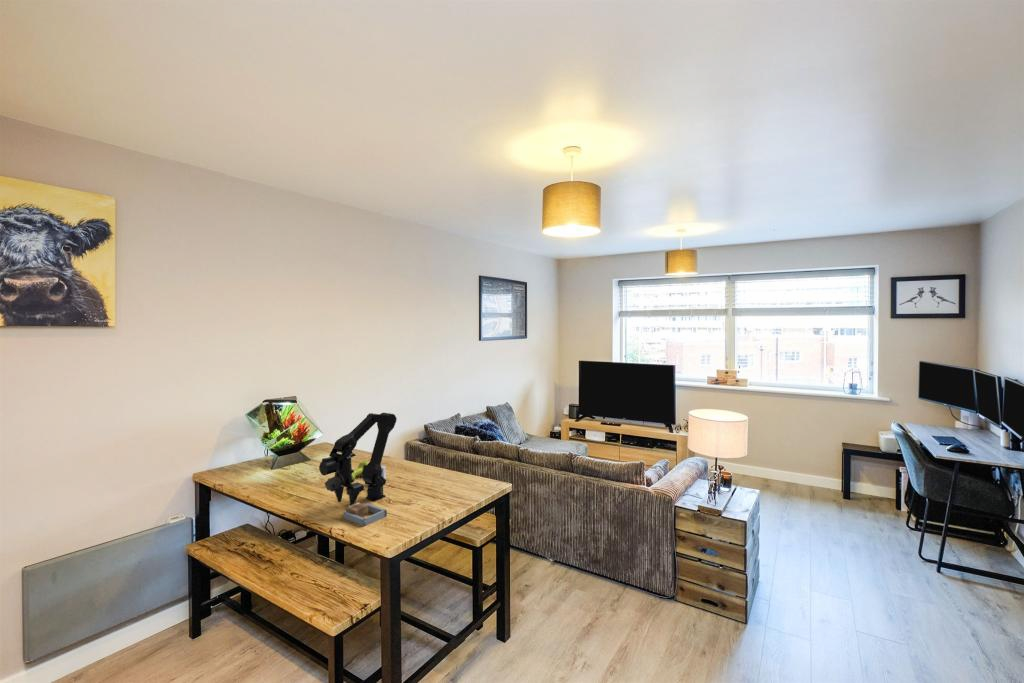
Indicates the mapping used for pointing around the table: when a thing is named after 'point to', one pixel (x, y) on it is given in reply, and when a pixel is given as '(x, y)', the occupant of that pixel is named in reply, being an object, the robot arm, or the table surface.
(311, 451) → the table surface
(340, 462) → the robot arm
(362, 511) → the block
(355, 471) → the dumbbell
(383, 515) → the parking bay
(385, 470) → the medicine box
